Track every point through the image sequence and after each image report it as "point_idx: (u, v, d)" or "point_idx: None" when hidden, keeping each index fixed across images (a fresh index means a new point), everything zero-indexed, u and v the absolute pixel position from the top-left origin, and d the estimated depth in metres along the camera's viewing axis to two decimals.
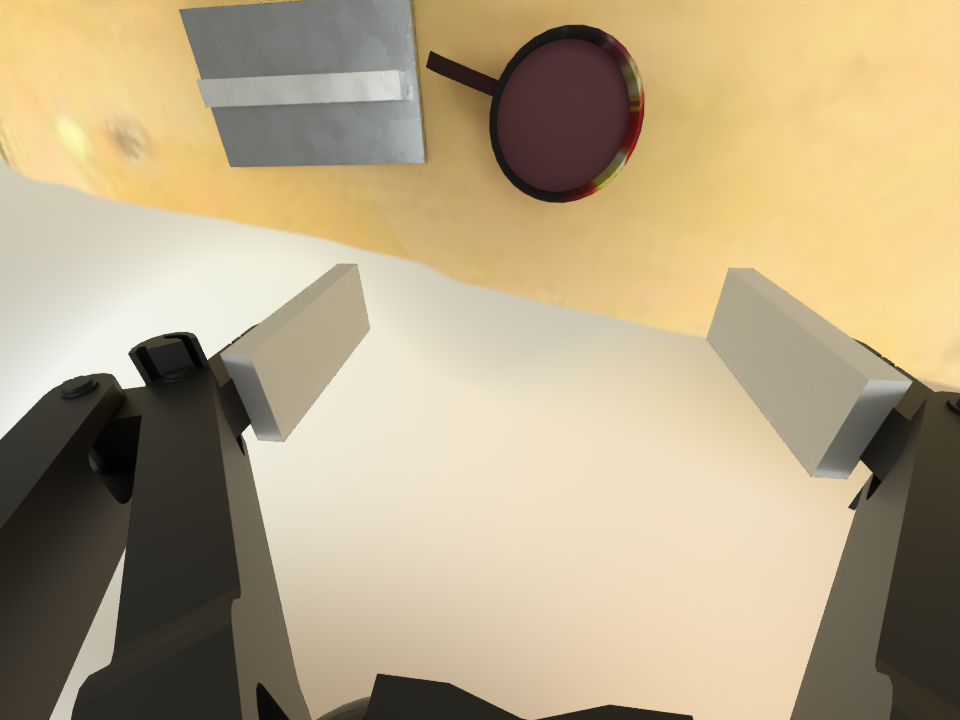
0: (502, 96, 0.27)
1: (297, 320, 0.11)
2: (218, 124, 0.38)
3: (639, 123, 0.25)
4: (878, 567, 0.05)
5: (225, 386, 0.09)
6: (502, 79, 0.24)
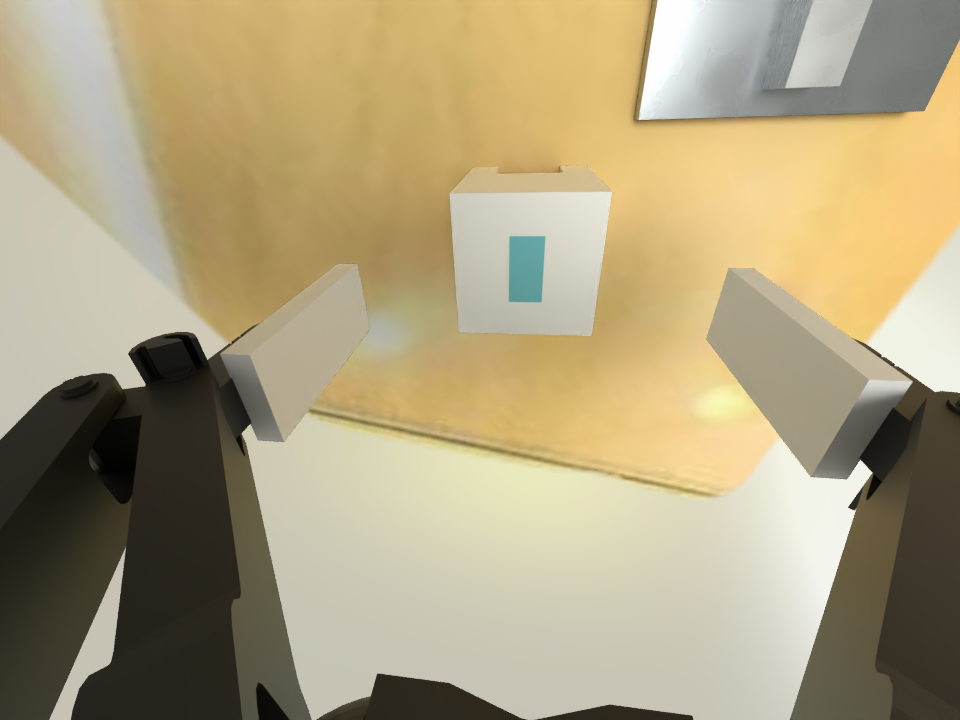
0: None
1: (297, 320, 0.11)
2: (835, 107, 0.17)
3: None
4: (878, 567, 0.05)
5: (225, 386, 0.09)
6: None
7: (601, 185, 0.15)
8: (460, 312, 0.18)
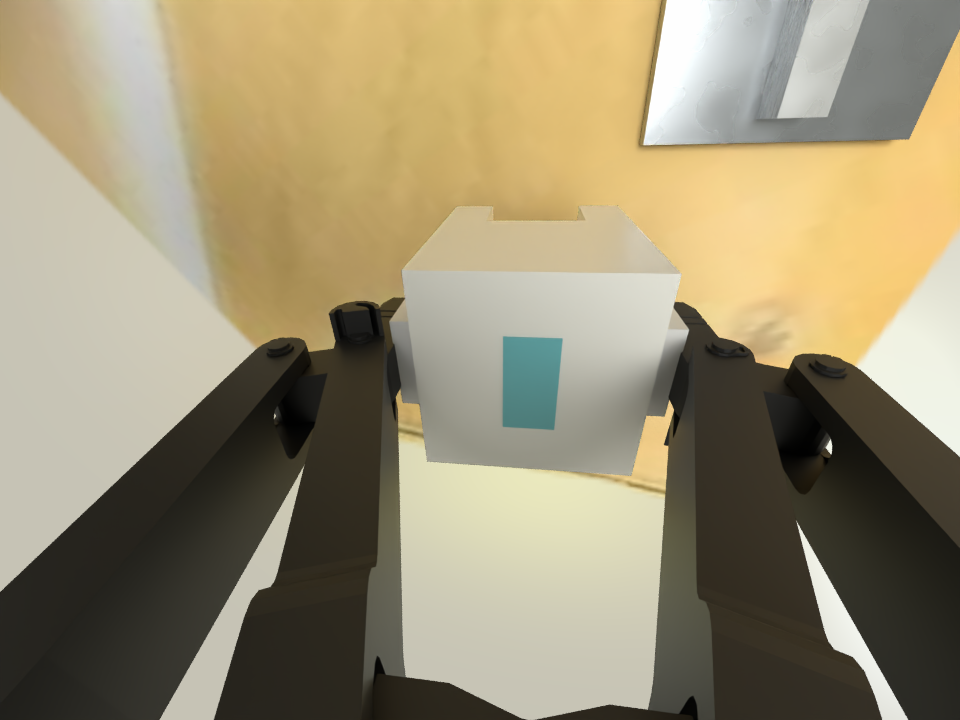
0: None
1: None
2: (825, 135, 0.19)
3: None
4: (687, 499, 0.06)
5: (391, 350, 0.10)
6: None
7: (656, 255, 0.09)
8: (428, 436, 0.11)
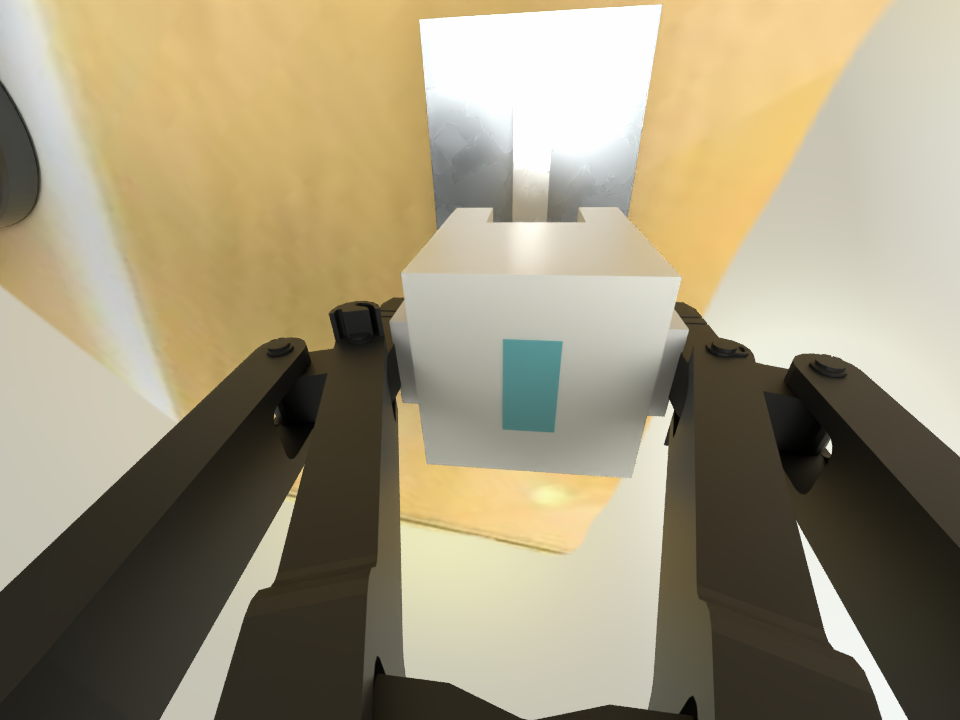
0: None
1: None
2: None
3: None
4: (687, 498, 0.06)
5: (391, 350, 0.10)
6: None
7: (656, 257, 0.09)
8: (428, 439, 0.11)
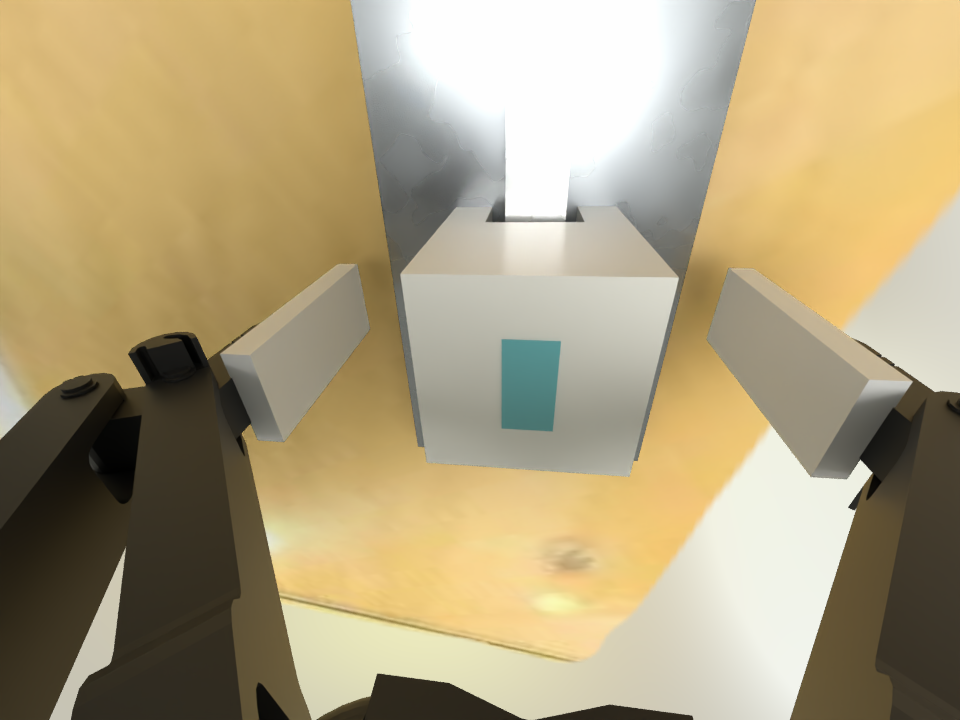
0: None
1: (297, 320, 0.11)
2: None
3: None
4: (878, 567, 0.05)
5: (225, 386, 0.09)
6: None
7: (654, 258, 0.09)
8: (427, 438, 0.11)
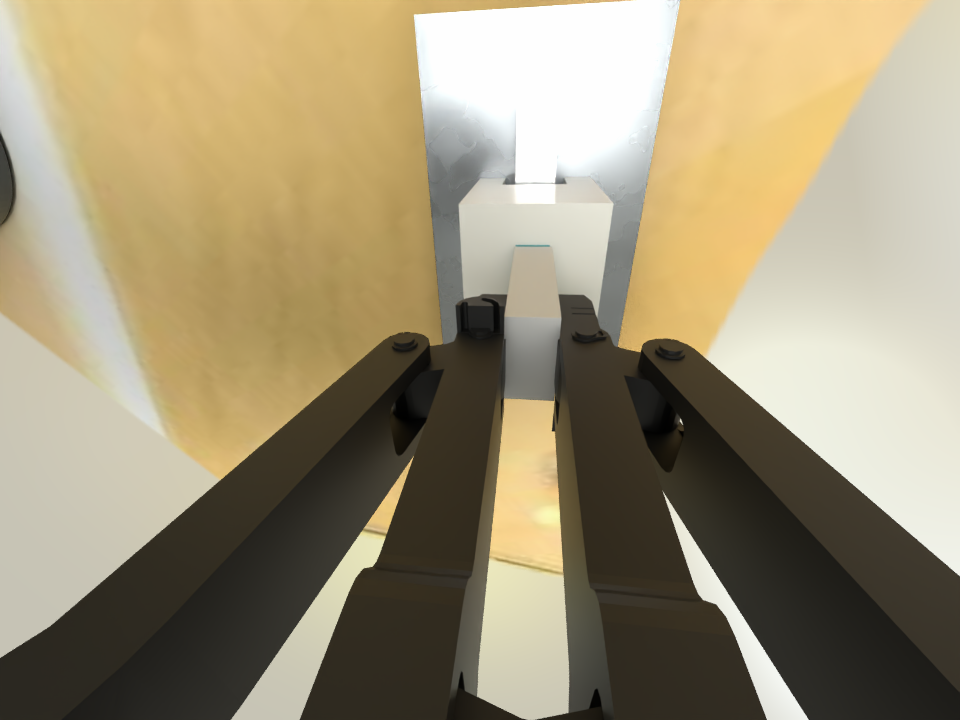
0: None
1: None
2: None
3: None
4: (572, 485, 0.06)
5: (505, 345, 0.11)
6: None
7: (603, 197, 0.16)
8: None
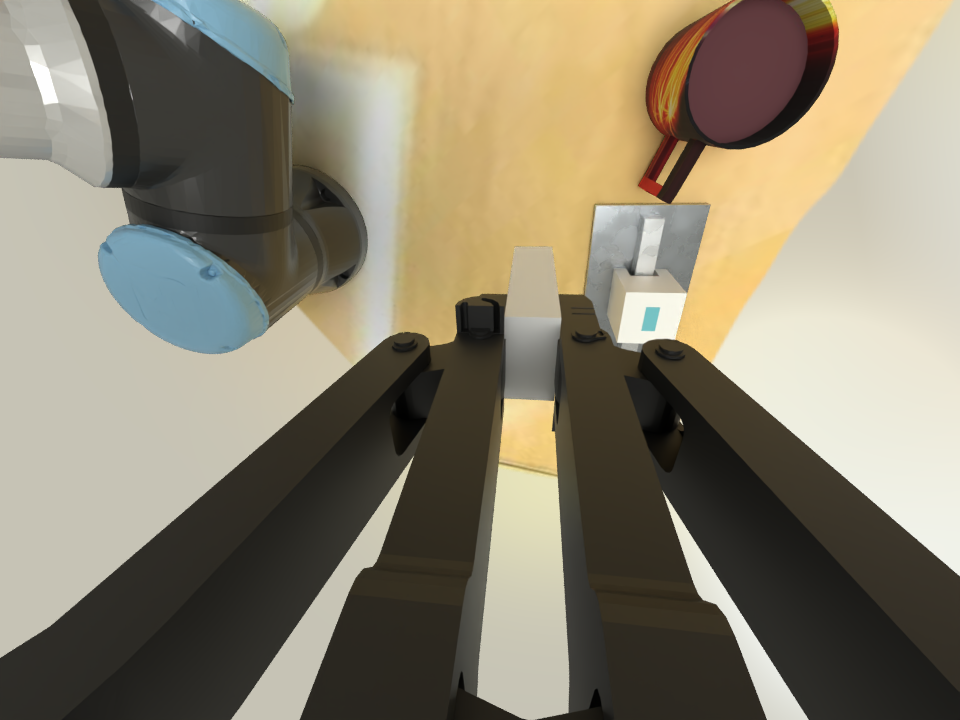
0: None
1: None
2: None
3: None
4: (572, 486, 0.06)
5: (505, 345, 0.11)
6: (706, 137, 0.30)
7: (681, 288, 0.41)
8: (619, 334, 0.43)
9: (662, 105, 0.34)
